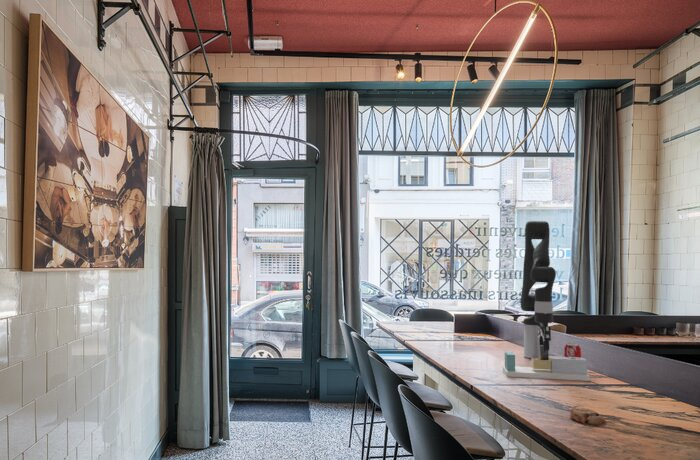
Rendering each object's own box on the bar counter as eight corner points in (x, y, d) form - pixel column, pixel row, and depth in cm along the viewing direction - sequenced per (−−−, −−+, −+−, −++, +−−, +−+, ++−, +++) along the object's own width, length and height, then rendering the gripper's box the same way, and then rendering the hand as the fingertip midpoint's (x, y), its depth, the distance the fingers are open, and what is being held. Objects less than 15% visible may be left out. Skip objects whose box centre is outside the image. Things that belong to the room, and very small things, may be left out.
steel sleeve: (548, 369, 210) (548, 356, 210) (582, 371, 207) (582, 357, 208) (552, 372, 204) (551, 358, 204) (587, 374, 201) (586, 360, 202)
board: (502, 370, 216) (502, 365, 216) (581, 374, 210) (581, 369, 210) (506, 376, 204) (506, 371, 205) (590, 380, 198) (590, 376, 198)
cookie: (592, 414, 154) (592, 405, 154) (611, 426, 143) (610, 415, 144) (562, 414, 154) (562, 405, 154) (579, 425, 143) (579, 415, 143)
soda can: (584, 372, 215) (583, 345, 215) (568, 372, 215) (568, 345, 216) (577, 368, 222) (576, 343, 223) (562, 368, 222) (561, 342, 223)
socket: (504, 366, 214) (504, 351, 215) (512, 367, 214) (512, 351, 214) (507, 370, 206) (507, 354, 207) (515, 371, 206) (515, 355, 206)
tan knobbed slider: (531, 366, 210) (531, 344, 211) (580, 369, 207) (580, 346, 207) (533, 368, 206) (533, 345, 207) (583, 371, 203) (582, 347, 203)
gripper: (531, 309, 217) (532, 345, 216) (538, 312, 203) (538, 350, 202) (548, 310, 216) (549, 346, 214) (556, 313, 202) (557, 351, 200)
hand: (544, 348), depth 208 cm, fingers open, 8 cm apart
